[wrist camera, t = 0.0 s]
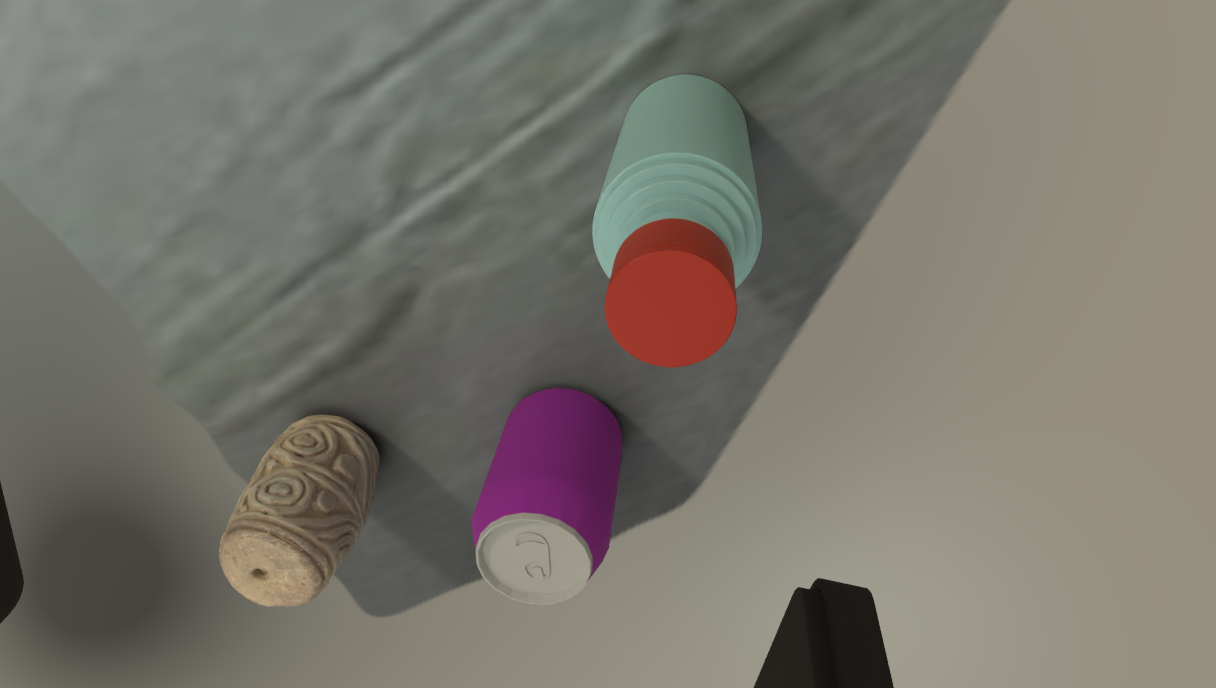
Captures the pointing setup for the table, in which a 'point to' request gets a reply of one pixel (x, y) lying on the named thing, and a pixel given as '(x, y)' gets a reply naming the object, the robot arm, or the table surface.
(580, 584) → the beverage can
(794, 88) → the table surface
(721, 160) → the water bottle
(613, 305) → the cap
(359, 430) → the carving
